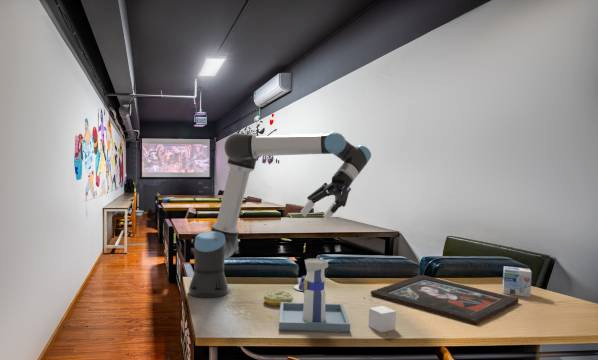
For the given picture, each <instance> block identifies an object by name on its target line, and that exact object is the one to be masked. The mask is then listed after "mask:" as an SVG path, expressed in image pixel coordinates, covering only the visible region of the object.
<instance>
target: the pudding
mask: <svg viewBox="0 0 598 360" xmlns="http://www.w3.org/2000/svg"><path fill="white" fill-rule="evenodd" d="M305 277H306V275H302V276H301V278H300V280H299V284H295V285H293V288H294V289H295V290H296V291H297V290H298V291H301V292H304V291H305V289H304V279H305Z"/></svg>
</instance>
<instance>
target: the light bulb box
mask: <svg viewBox="0 0 598 360" xmlns="http://www.w3.org/2000/svg"><path fill="white" fill-rule="evenodd" d="M502 270H503V272H502V293H503V295H506V294H507V295H510V296H511V295H513V296H519V297H520V296H521V297H527V298H531V293H532V292H531V290H532V274H533V272H532V271H531V269H530V268H524V267H523V268H522V267H514V266H505V265H504V266H503V269H502Z"/></svg>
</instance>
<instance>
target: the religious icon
mask: <svg viewBox="0 0 598 360" xmlns="http://www.w3.org/2000/svg"><path fill="white" fill-rule="evenodd" d="M370 295H372V296H373V297H377V298H379V299H381V300H386V301H389V302H394V303H397V304H400V305H404V306H407V307H411V308H413V309H416V310H422V311H425V312H428V313H431V314H436V315H439V316H443V317H447V318H449V319H454V320H457V321H460V322H464V323H468V324H471V325H475V326H476V325H480V324H481V323H483V322H485V321H487V320H489V319H490V318H493V317H495V316H496V315H498V314H499V313H502V312H504V311H506V310H508V309H510V308H512V307H513V306H515V305H518V303H519V298H518V297H514V296H511V295H506V294H501V293H497V292H493V291H490V290H489V291H488V290H484V289H481V288H476V287H472V286H469V285H463V284H461V283H456V282H451V281H448V280H443V279H440V278H436V277H431V276H427V275H424V274H423V275H422V274H419V275H416V276H413V277H410V278H406V279H404V280H401V281H399V282H395V283H391V284H389V285H386V286H384V287H379V288H376V289H373V290H371V291H370Z"/></svg>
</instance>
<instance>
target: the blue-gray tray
mask: <svg viewBox="0 0 598 360" xmlns="http://www.w3.org/2000/svg"><path fill="white" fill-rule="evenodd" d="M303 305H304V302H292V301H291V302H281V305H280V306H279V320H278V331H281V332H312V333H315V332H316V333H317V332H319V333H346V334H347V333H348V334H349V333H351V322H350V319H349V318H348V314H347V312H346V310H345V307H344V304H343V303H326V302H325V317H326V319H325V321H323V322H307V321H305V320H303V318H302V317H303Z"/></svg>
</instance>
